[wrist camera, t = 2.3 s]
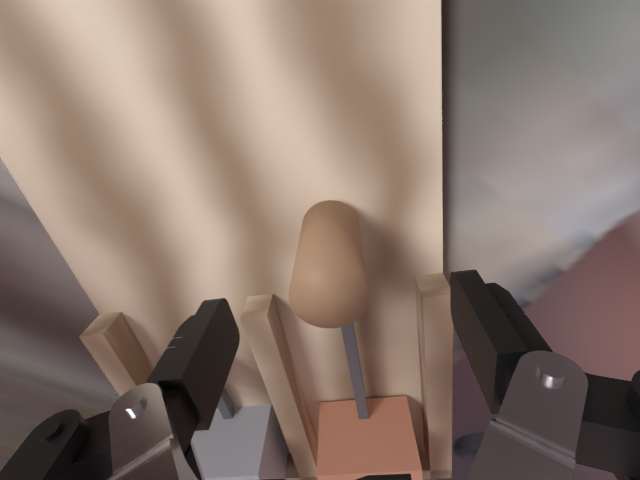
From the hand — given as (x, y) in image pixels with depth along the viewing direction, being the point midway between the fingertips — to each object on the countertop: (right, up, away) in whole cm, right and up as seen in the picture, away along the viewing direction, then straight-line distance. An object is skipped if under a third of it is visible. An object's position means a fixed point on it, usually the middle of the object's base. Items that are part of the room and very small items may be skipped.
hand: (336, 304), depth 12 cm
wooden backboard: (-5, +1, +9) cm, 10 cm away
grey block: (-8, -10, +14) cm, 19 cm away
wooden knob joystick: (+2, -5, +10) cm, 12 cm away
